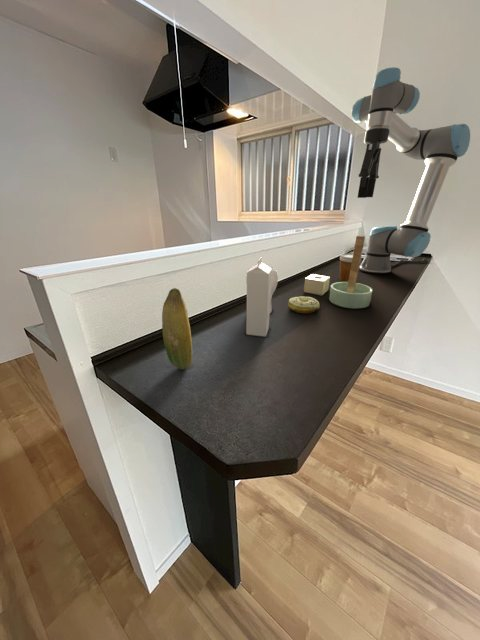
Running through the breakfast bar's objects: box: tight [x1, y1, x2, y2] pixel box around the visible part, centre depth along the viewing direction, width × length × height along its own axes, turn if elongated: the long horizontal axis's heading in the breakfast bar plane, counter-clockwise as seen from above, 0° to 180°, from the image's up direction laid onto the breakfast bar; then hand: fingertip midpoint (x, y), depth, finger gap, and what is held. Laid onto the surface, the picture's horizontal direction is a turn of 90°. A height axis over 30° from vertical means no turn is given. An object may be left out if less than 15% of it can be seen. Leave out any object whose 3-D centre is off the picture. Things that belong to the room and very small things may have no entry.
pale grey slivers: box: [245, 266, 279, 314], centre depth 91 cm, size 11×11×15 cm
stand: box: [303, 273, 331, 296], centre depth 112 cm, size 8×8×6 cm
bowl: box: [328, 281, 374, 309], centre depth 100 cm, size 15×15×6 cm
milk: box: [245, 256, 273, 338], centre depth 75 cm, size 6×6×22 cm
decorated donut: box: [288, 295, 320, 314], centre depth 95 cm, size 10×11×4 cm
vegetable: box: [161, 287, 193, 370], centre depth 58 cm, size 6×6×20 cm
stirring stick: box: [346, 235, 366, 293], centre depth 96 cm, size 2×2×24 cm
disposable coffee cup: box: [339, 253, 362, 282], centre depth 125 cm, size 10×10×12 cm
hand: (365, 197), depth 100 cm, fingers open, 13 cm apart
